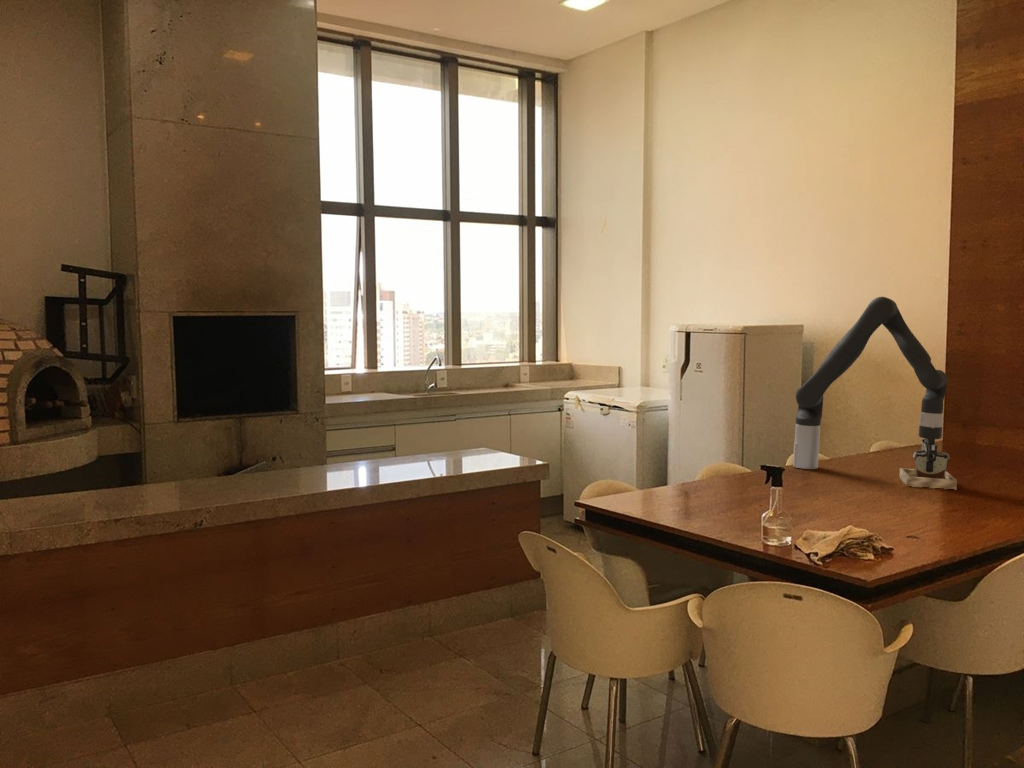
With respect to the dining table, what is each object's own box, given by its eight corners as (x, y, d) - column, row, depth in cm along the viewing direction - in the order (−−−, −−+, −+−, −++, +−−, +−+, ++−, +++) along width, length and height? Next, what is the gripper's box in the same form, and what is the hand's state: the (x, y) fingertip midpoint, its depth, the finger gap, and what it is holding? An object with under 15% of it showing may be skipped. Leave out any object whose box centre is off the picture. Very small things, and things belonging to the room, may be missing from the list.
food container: (940, 477, 298) (942, 450, 297) (947, 481, 292) (950, 453, 291) (905, 475, 299) (907, 449, 298) (912, 479, 293) (914, 452, 292)
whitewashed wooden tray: (906, 486, 290) (907, 476, 290) (899, 477, 305) (899, 468, 305) (956, 490, 285) (957, 480, 285) (946, 480, 301) (947, 471, 300)
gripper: (915, 421, 301) (912, 465, 303) (923, 427, 287) (919, 473, 289) (938, 422, 299) (934, 467, 301) (946, 428, 285) (943, 474, 287)
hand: (927, 470), depth 295 cm, fingers closed on food container, 6 cm apart
